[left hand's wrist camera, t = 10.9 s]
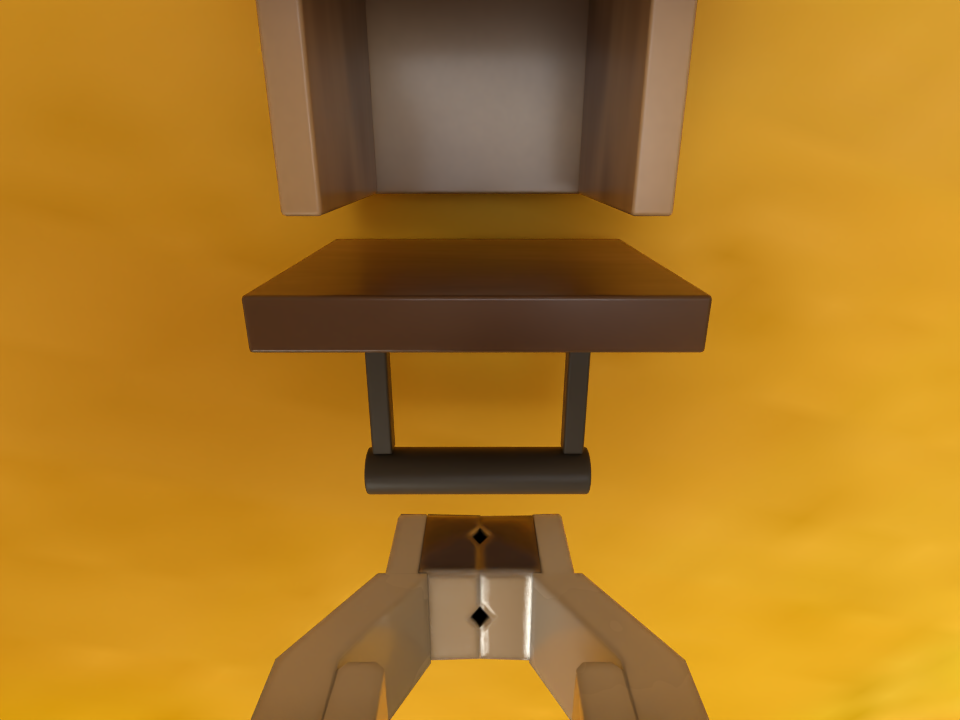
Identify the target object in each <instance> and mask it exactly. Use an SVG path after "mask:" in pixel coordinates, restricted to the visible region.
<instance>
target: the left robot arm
mask: <svg viewBox="0 0 960 720" xmlns="http://www.w3.org/2000/svg"><path fill="white" fill-rule="evenodd" d="M449 659H511V660H529V663H530V664H531V666H532V667H533V668H534V670H535V671H536V673H537V674H538V675H539V677H540V678H541V680H542V681H543V682H544V684H545V685H546V687H547V688H548V689H549V691H550V692H551V694H552V695H553V696H554V698H555V699H556V701H557V702H558V703H559V705H560V706H561V708H562V709H563V710H564V712H565V713H566V715H567V716H568V717H569V719H570V720H709V718H708V715H707V713H706V711H705V708H704V706H703V703H702V701H701V698H700V696H699V693H698V691H697V688H696V686H695V683H694V681H693V678H692V676H691V673H690V671H689V669H688V666H687V664H686V661H685V660H684V659H683V658H682V657H681V656H680V655H678V654H677V653H676V652H675V651H674V650H672V649H671V648H670V647H669V646H668V645H667V644H665V643H664V642H663V641H662V640H661V639H659V638H658V637H657V636H656V635H655V634H653V633H652V632H651V631H650V630H649V629H648V628H646V627H645V626H644V625H643V624H642V623H640V622H639V621H638V620H637V619H636V618H635V617H633V616H632V615H631V614H630V613H629V612H627V611H626V610H625V609H624V608H623V607H621V606H620V605H619V604H618V603H617V602H616V601H614V600H613V599H612V598H611V597H610V596H608V595H607V594H606V593H605V592H604V591H602V590H601V589H600V588H599V587H598V586H597V585H595V584H594V583H593V582H592V581H591V580H589V579H588V578H587V577H586V576H585V575H584V574H582V573H574V570H573V565H572V561H571V557H570V552H569V548H568V544H567V539H566V535H565V531H564V526H563V522H562V517H561V516H560V515H559V514H540V515H530V516H480V515H436V514H428V516H427V515H426V514H401V515H400V517H399V518H398V521H397V526H396V530H395V534H394V539H393V543H392V548H391V552H390V556H389V561H388V565H387V570H386V573H378V574H376V575H375V576H374V577H373V578H372V579H371V580H369V581H368V582H367V583H366V584H365V585H363V586H362V587H361V588H360V589H359V590H357V591H356V592H355V593H354V594H353V595H351V596H350V597H349V598H348V599H347V600H346V601H344V602H343V603H342V604H341V605H340V606H338V607H337V608H336V609H335V610H334V611H332V612H331V613H330V614H329V615H328V616H326V617H325V618H324V619H323V620H322V621H321V622H319V623H318V624H317V625H316V626H315V627H313V628H312V629H311V630H310V631H309V632H307V633H306V634H305V635H304V636H303V637H301V638H300V639H299V640H298V641H297V642H295V643H294V644H293V645H292V646H291V647H290V648H288V649H287V650H286V651H285V652H284V653H282V654H281V655H280V656H279V657H278V658H276V659H275V662H274V664H273V667H272V669H271V672H270V674H269V676H268V679H267V681H266V684H265V686H264V689H263V691H262V693H261V696H260V698H259V701H258V703H257V706H256V708H255V711H254V713H253V715H252V718H251V720H390V719H391V718H392V716H393V715H394V714H395V712H396V711H397V709H398V708H399V707H400V705H401V704H402V702H403V701H404V700H405V698H406V697H407V696H408V694H409V693H410V691H411V690H412V689H413V687H414V686H415V684H416V683H417V682H418V680H419V679H420V677H421V676H422V675H423V673H424V672H425V670H426V669H427V668H428V666H429V665H430V663H431V660H449Z"/></svg>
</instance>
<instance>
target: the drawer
mask: <svg viewBox="0 0 960 720" xmlns="http://www.w3.org/2000/svg"><path fill="white" fill-rule="evenodd" d="M256 7H257V15H258V23H259V32H260V40H261V48H262V56H263V65H264V73H265V81H266V90H267V98H268V106H269V114H270V123H271V131H272V139H273V148H274V156H275V164H276V172H277V181H278V189H279V197H280V206H281V212H282V214H283V215H285V216H320V215H322V214H325V213H328V212H330V211H333V210H335V209H338V208H340V207H343V206H345V205H348V204H350V203H353V202H355V201H358V200H360V199H363V198H365V197H368V196H370V195H373V194H582V195H584V196H587V197H589V198H592V199H594V200H597V201H599V202H602V203H604V204H606V205H609V206H611V207H614V208H616V209H619V210H621V211H623V212H626V213H628V214H631V215H633V216H669V215H671V214H672V212H673V204H674V196H675V187H676V179H677V170H678V162H679V153H680V144H681V136H682V127H683V119H684V110H685V102H686V93H687V84H688V76H689V67H690V59H691V50H692V42H693V33H694V24H695V16H696V7H697V0H256ZM711 301H712V298H711V296H710V295H708V294H707V293H705V292H703V291H702V290H700V289H699V288H697V287H695V286H694V285H692V284H691V283H689V282H687V281H686V280H684V279H683V278H681V277H679V276H678V275H676V274H674V273H673V272H671V271H670V270H668V269H666V268H665V267H663V266H662V265H660V264H658V263H657V262H655V261H654V260H652V259H650V258H649V257H647V256H645V255H644V254H642V253H641V252H639V251H637V250H636V249H634V248H633V247H631V246H629V245H628V244H626V243H625V242H623V241H621V240H619V239H337V240H334V241H333V242H331V243H330V244H328V245H326V246H325V247H323V248H321V249H320V250H318V251H316V252H315V253H313V254H312V255H310V256H308V257H307V258H305V259H303V260H302V261H300V262H298V263H297V264H295V265H293V266H292V267H290V268H289V269H287V270H285V271H284V272H282V273H280V274H279V275H277V276H275V277H274V278H272V279H270V280H269V281H267V282H266V283H264V284H262V285H261V286H259V287H257V288H256V289H254V290H252V291H251V292H249V293H247V294H246V295H244V296H243V298H242V303H243V309H244V316H245V322H246V329H247V336H248V342H249V349H250V351H251V352H365V361H366V374H367V387H368V400H369V413H370V426H371V439H372V447H370V448H369V449H368V452H367V455H366V460H365V487H366V491H367V493H368V494H587V493H589V490H590V485H591V463H590V456H589V452H588V450H587V448H586V447H584V434H585V420H586V407H587V393H588V379H589V366H590V352H703V351H704V348H705V341H706V335H707V328H708V321H709V314H710V308H711ZM390 352H566V360H565V378H564V395H563V413H562V431H561V447H394V446H395V436H394V419H393V402H392V386H391V369H390Z"/></svg>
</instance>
